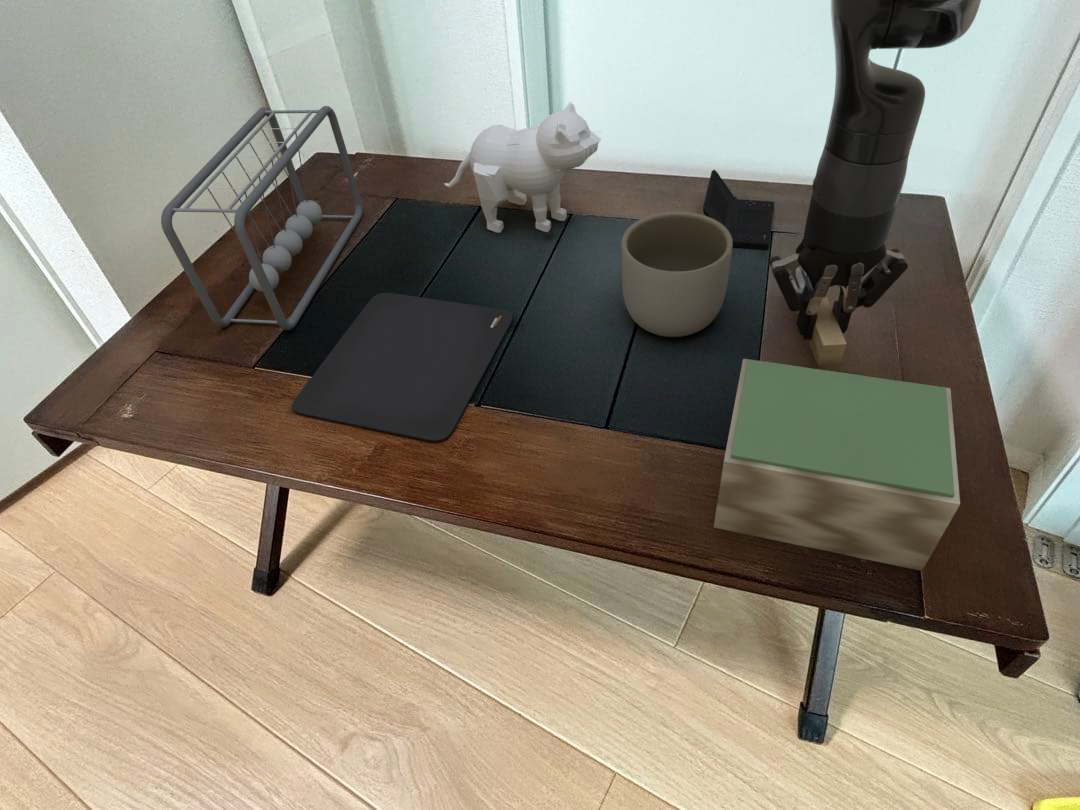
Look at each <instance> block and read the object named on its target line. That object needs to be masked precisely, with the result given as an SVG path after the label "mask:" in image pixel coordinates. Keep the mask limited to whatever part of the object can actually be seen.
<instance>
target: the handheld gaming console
mask: <svg viewBox="0 0 1080 810" xmlns="http://www.w3.org/2000/svg"><path fill="white" fill-rule="evenodd" d="M708 180H709V181H708V185H707V188H706V194H705V198H704V201H703V206H702V212H703V215H705V216H707V217H710V218H712V219H714V220H716V221H718V222H719V223H721V224H722V225H723V226H725V227H726V228H727V230H728V231H729V232H730V234H731V236H732V240H733V247H732V248H743V249H755V250H766V251H767V250H769V247H770V243H771V235H772V225H773V217H774V209H775V201H772V200H756V199H740V198H738V197H737V196H734V194H733V193H732V191H731V190H730V188H729V187H728V186H727V184H726V183H725V181H724V180H723V179H722V177H721V175H720V174H719V172H718V171H717V170H715V169H712V170H711V173H710V177H709V179H708Z"/></svg>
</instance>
